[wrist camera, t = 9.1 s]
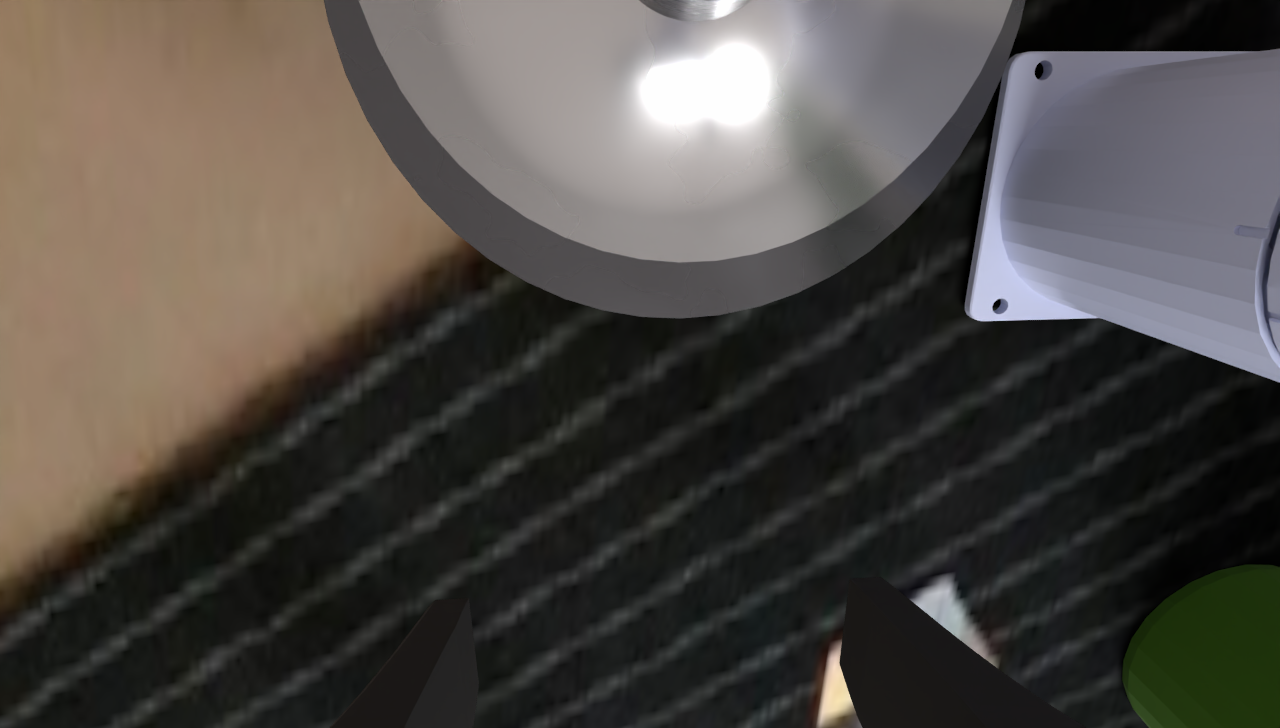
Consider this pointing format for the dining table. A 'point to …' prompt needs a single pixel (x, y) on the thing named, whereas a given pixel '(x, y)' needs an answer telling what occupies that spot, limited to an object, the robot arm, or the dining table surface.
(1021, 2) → the cooking pot
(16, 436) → the dining table surface
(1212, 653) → the wine bottle
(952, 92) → the steel lid
